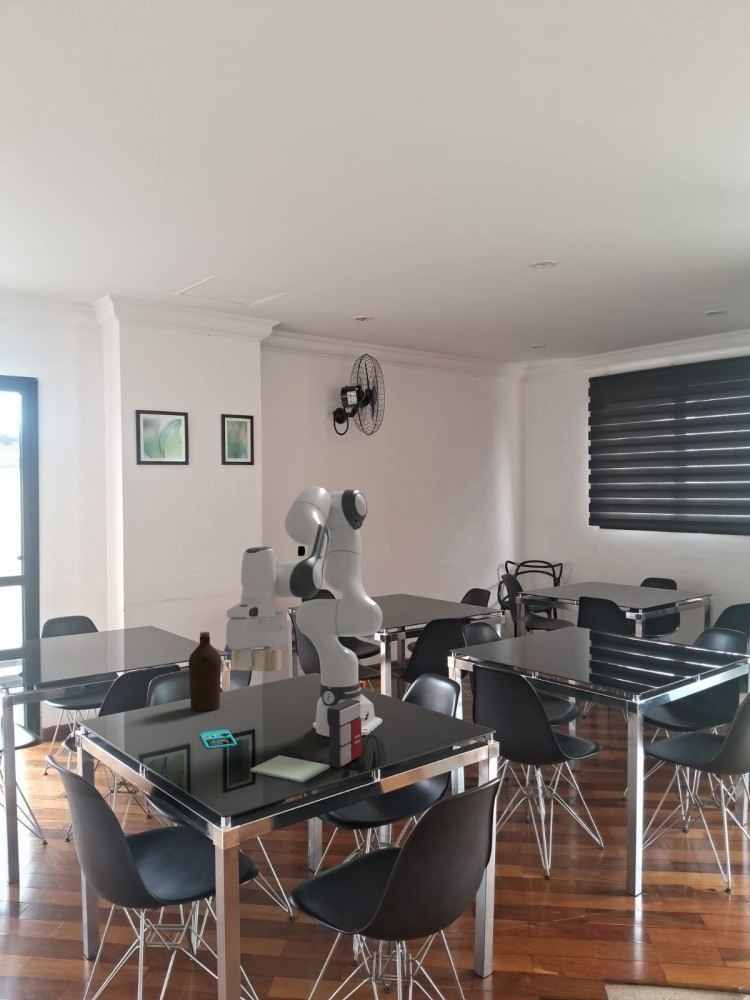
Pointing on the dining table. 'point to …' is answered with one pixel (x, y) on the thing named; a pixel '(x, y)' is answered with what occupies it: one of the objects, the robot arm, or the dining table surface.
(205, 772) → the dining table surface
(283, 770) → the rubber mat
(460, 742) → the dining table surface
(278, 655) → the birch block
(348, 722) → the dark grey box
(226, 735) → the handheld gaming console
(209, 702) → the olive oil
